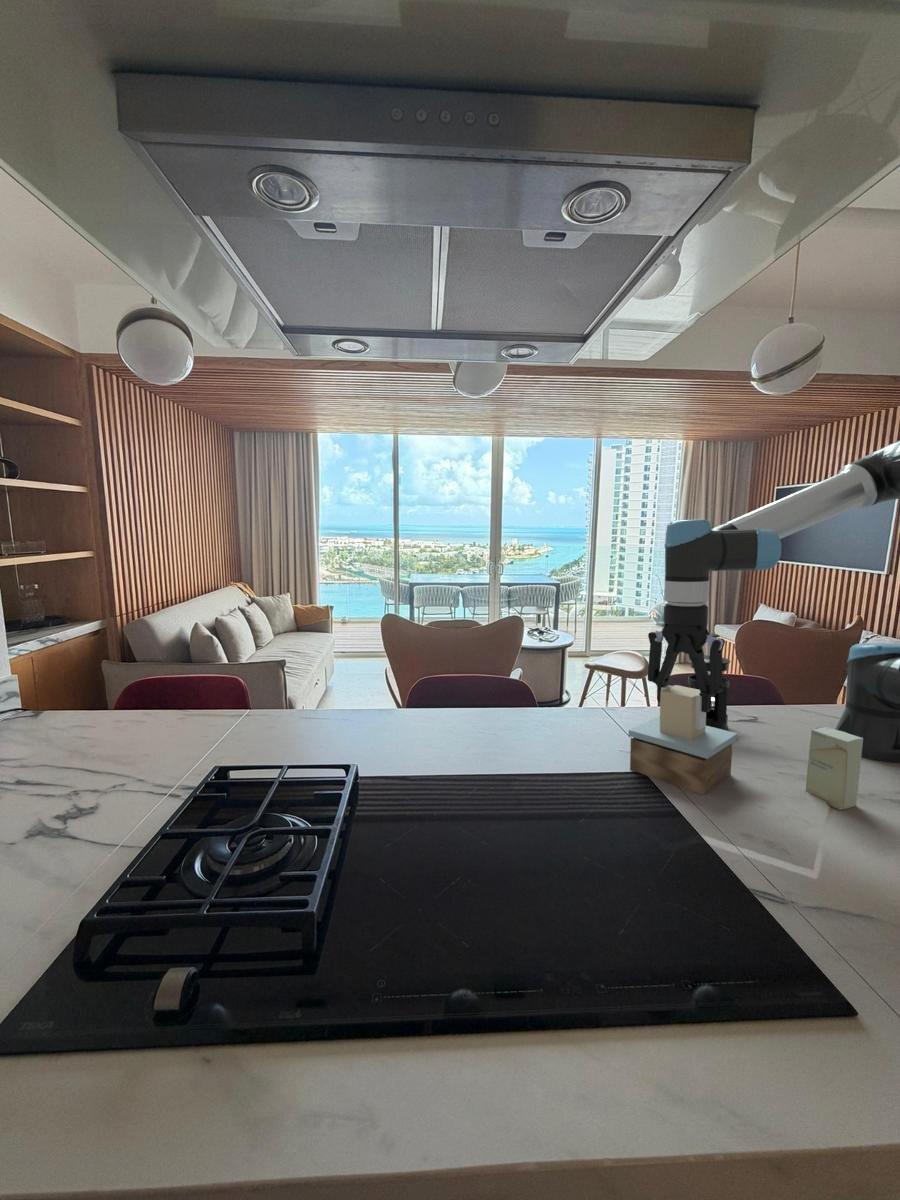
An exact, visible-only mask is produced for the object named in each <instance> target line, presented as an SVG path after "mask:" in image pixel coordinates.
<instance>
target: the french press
mask: <svg viewBox="0 0 900 1200" xmlns="http://www.w3.org/2000/svg"><path fill="white" fill-rule="evenodd" d="M709 635H710V636H712V637H714V638H720V637H721V635H720V634H716V633H710V632H709ZM709 653H710V649H709V648H708V655H707V654H706V655H705V654H704V660H705V664H706V667H707V671H708V674H709V678H710V659H709ZM688 660H689V661H690V668H691V669H694V668H693V664H692V661H691V659H690V658H689V657H688ZM730 663H731V660H730V658H729V659H728V658H727V657H723V656H722V668H723V672H726V671H728V670H729V664H730ZM687 683H688V688H694V689H699V685H698V682H697V678H696V675H695V674H691V675H689V676H687ZM729 687H730V679H728V678H726V677H724V676H723V691H721V692H719V693H717V694H714V696H712V700H711V710H710V711H709V712H707V713H706V726H710V727H714V728H718V729H722V730H726V731H727V730H728V731H729V726H728V723H729V722H728V721H729V719H728V713H727V707H728V705H727V704H728V688H729ZM699 690H700V689H699Z"/></svg>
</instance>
